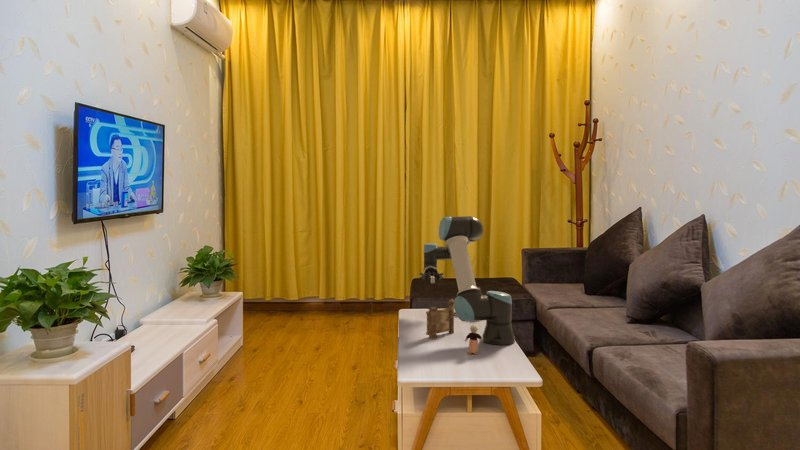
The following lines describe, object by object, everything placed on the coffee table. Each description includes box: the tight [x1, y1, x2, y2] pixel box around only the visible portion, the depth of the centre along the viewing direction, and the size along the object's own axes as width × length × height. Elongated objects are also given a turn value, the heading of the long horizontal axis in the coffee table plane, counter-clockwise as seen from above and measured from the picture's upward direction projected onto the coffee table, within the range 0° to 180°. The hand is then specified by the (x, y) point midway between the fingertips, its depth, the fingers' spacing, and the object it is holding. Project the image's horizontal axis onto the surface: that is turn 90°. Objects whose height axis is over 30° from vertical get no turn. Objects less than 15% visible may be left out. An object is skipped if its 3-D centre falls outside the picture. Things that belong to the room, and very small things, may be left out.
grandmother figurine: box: [464, 324, 484, 355], centre depth 226 cm, size 8×4×13 cm, turn 89°
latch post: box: [427, 306, 438, 340], centre depth 249 cm, size 3×3×15 cm
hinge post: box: [447, 298, 455, 335], centre depth 259 cm, size 3×3×17 cm
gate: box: [425, 307, 450, 336], centre depth 254 cm, size 14×2×11 cm, turn 125°
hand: (432, 280), depth 263 cm, fingers closed
